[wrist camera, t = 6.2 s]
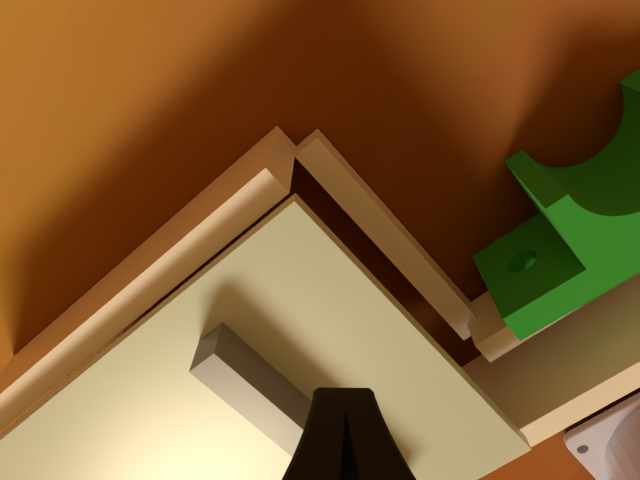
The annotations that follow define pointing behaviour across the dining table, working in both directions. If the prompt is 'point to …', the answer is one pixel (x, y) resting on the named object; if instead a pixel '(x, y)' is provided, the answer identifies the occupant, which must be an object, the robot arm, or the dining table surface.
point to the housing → (400, 248)
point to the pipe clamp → (570, 230)
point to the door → (260, 375)
